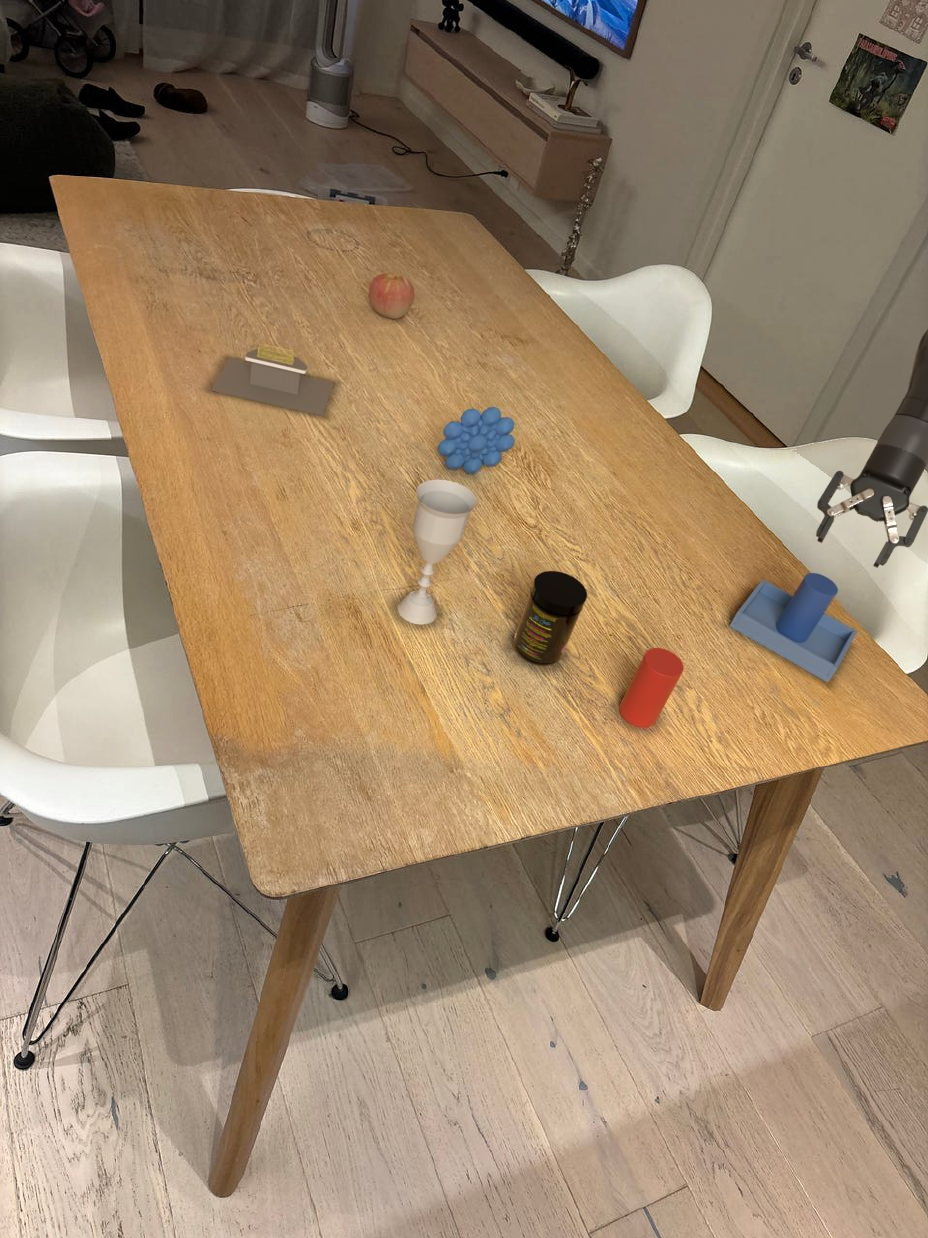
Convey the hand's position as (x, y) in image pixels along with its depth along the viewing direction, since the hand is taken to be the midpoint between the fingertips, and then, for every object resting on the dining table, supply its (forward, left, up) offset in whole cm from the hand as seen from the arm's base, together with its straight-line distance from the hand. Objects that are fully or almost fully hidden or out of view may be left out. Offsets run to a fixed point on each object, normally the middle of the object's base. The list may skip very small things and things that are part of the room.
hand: (847, 553), depth 135 cm
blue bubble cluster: (+56, +16, -10) cm, 59 cm away
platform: (+91, +23, -10) cm, 94 cm away
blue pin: (+1, +12, -9) cm, 15 cm away
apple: (+99, -18, -10) cm, 101 cm away
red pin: (+11, +44, -10) cm, 46 cm away
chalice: (+41, +50, -10) cm, 65 cm away
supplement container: (+26, +44, -10) cm, 52 cm away
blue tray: (+1, +12, -10) cm, 15 cm away
